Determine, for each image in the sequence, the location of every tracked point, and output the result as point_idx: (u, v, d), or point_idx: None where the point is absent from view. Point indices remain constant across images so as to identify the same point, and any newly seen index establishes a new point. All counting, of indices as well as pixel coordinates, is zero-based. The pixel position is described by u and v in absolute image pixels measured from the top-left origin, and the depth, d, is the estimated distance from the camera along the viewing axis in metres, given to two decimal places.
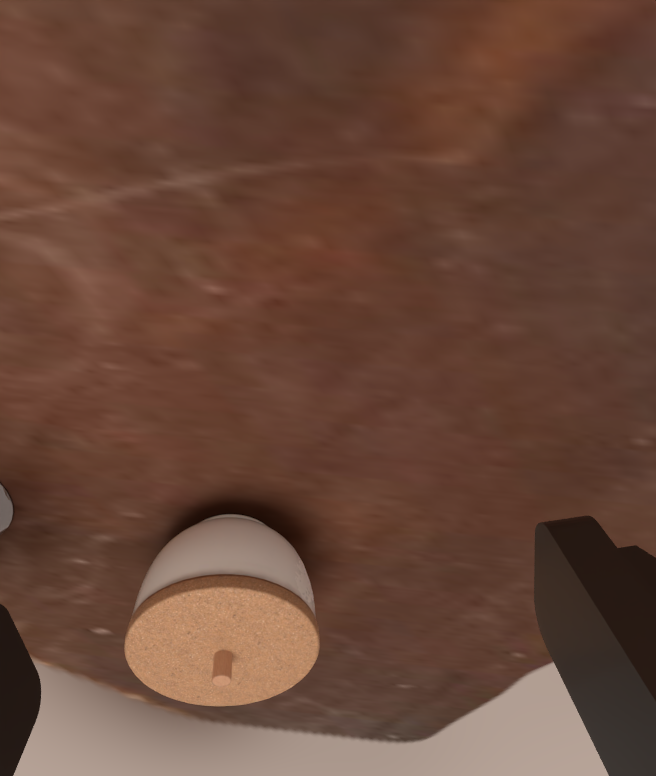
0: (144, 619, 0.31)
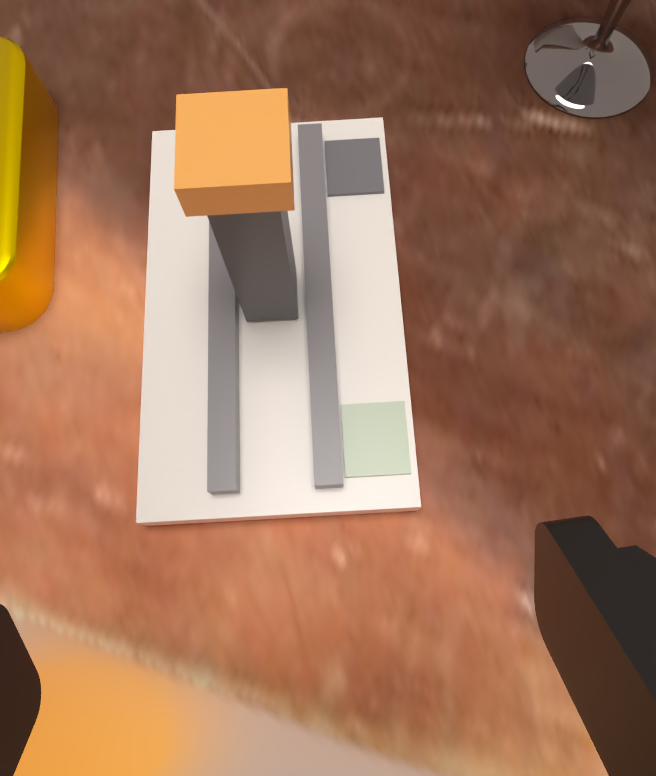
0: None
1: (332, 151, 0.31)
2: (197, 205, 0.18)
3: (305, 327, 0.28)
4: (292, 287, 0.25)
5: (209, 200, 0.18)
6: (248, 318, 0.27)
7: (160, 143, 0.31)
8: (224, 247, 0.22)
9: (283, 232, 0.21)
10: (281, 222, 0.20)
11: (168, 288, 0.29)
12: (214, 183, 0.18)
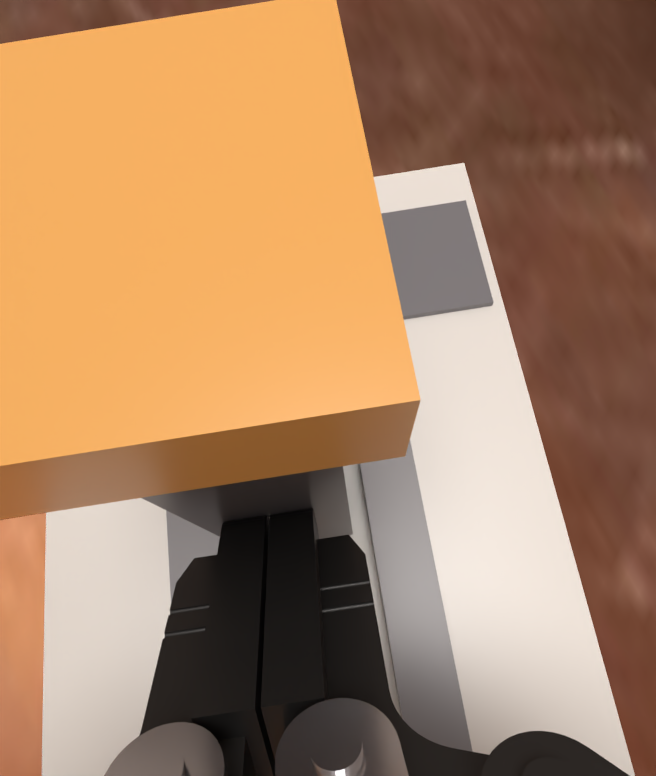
0: None
1: None
2: (8, 501, 0.04)
3: (378, 612, 0.13)
4: None
5: (49, 487, 0.04)
6: None
7: None
8: (170, 502, 0.08)
9: None
10: None
11: (90, 546, 0.14)
12: (43, 438, 0.04)
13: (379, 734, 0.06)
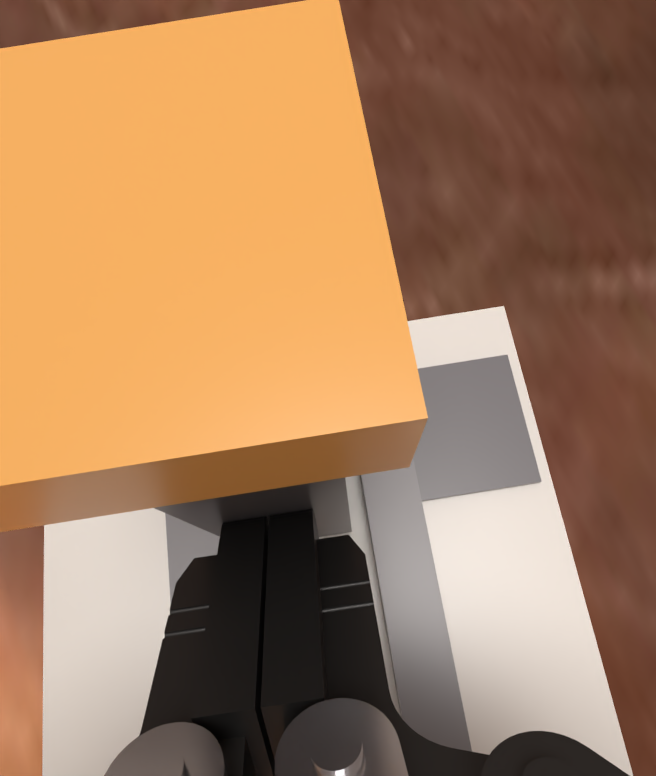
0: None
1: None
2: (9, 515, 0.04)
3: None
4: None
5: (52, 502, 0.04)
6: None
7: None
8: (171, 505, 0.08)
9: None
10: None
11: None
12: (46, 458, 0.04)
13: (379, 734, 0.06)
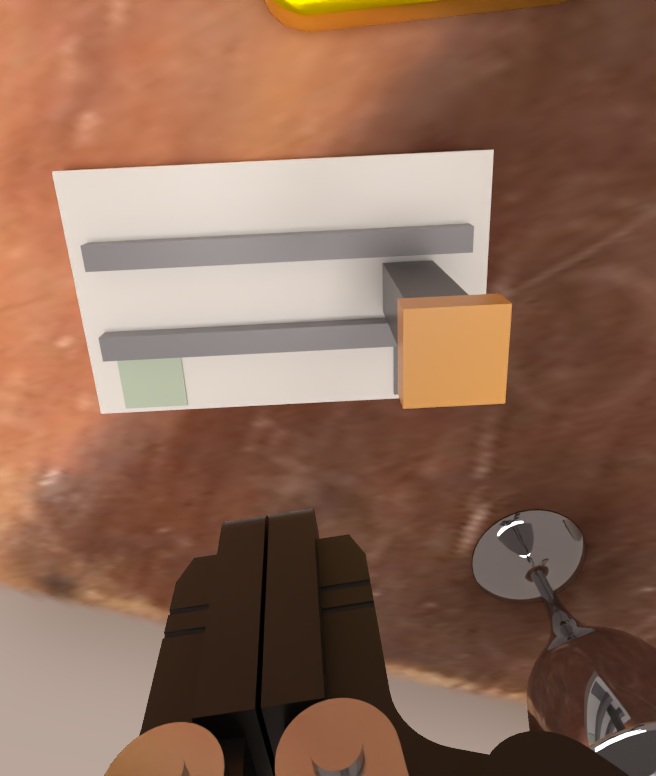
0: None
1: None
2: (399, 317, 0.20)
3: (254, 322, 0.30)
4: (391, 328, 0.27)
5: (400, 331, 0.20)
6: (382, 266, 0.29)
7: (475, 161, 0.28)
8: None
9: None
10: None
11: (293, 184, 0.28)
12: (407, 344, 0.19)
13: (379, 734, 0.06)
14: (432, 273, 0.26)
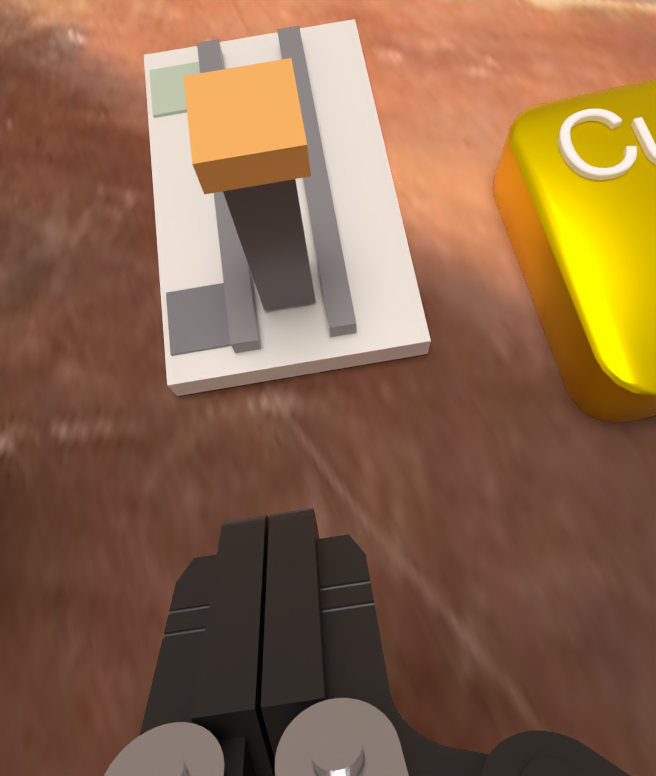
0: None
1: (221, 331, 0.28)
2: None
3: None
4: None
5: None
6: None
7: (417, 326, 0.27)
8: None
9: None
10: None
11: (370, 179, 0.30)
12: (255, 67, 0.19)
13: (379, 734, 0.06)
14: None
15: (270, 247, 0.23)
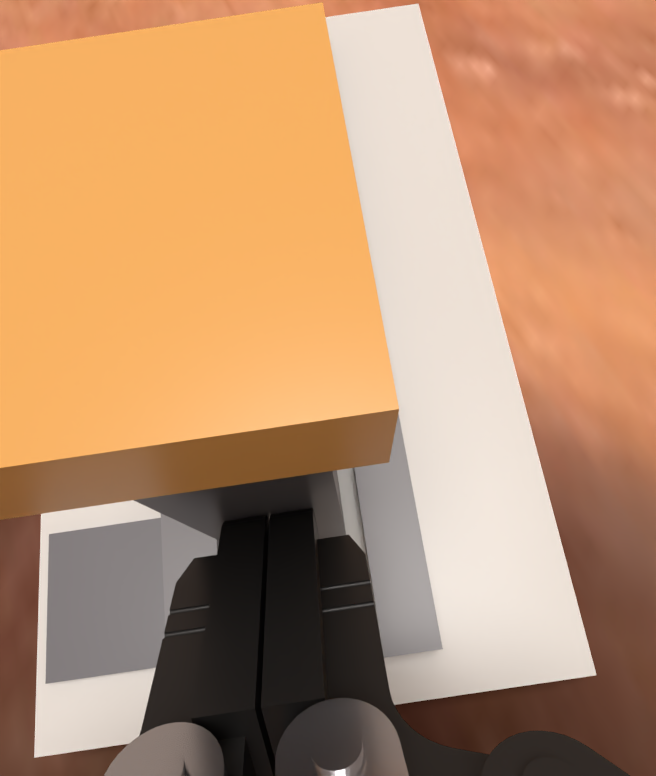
0: None
1: (155, 633, 0.13)
2: None
3: None
4: None
5: None
6: None
7: (565, 637, 0.13)
8: None
9: None
10: None
11: (455, 301, 0.16)
12: (176, 35, 0.05)
13: (379, 734, 0.06)
14: (338, 485, 0.11)
15: (247, 512, 0.09)
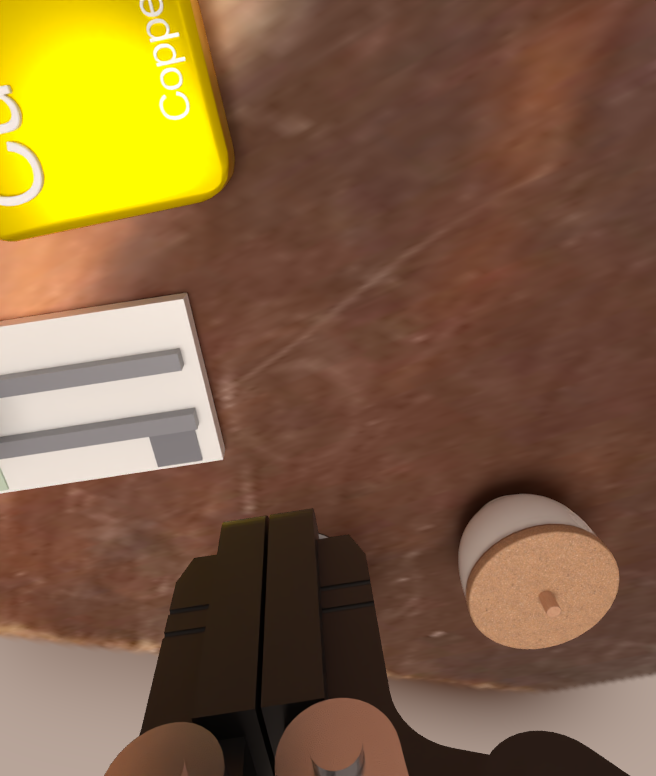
0: (477, 585, 0.41)
1: (184, 432, 0.42)
2: None
3: (42, 429, 0.41)
4: None
5: None
6: None
7: (172, 307, 0.38)
8: None
9: None
10: None
11: (46, 336, 0.39)
12: None
13: (379, 734, 0.06)
14: None
15: None
